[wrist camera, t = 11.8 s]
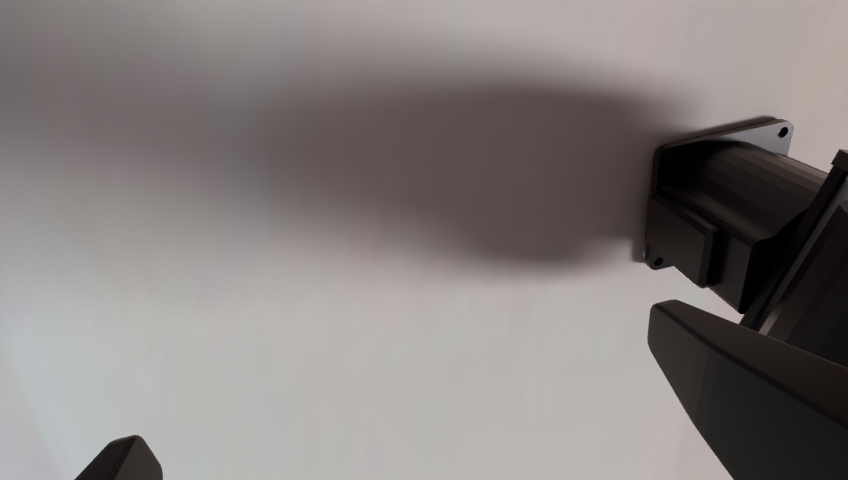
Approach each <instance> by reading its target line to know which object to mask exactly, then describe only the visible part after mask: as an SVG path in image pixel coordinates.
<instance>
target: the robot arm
mask: <svg viewBox="0 0 848 480" xmlns="http://www.w3.org/2000/svg"><path fill="white" fill-rule="evenodd" d="M780 129H781V130H780ZM779 130H780V132H779ZM778 132H779V133H778ZM792 133H793V125H792V123H791V122H789V121H786V120H783V119H777V120H773V121H768V122H764V123H759V124H754V125H750V126H745V127H741V128H736V129H732V130H727V131H723V132H718V133H714V134H709V135H705V136H700V137H696V138H691V139H687V140H682V141H677V142H673V143H668V144H664V145H662V146H660V147H659V148H658V149H657V150H656V152H655V154H654V160H653V171H652V182H651V193H650V196H649V200H648V211H647V223H646V234H645V241H646V250H645V263H646V264H647V265H648V266H649V267H650V268H651V269H653V270H659V269H663V268H667V267H671V266H675V267H676V268H677V269H678V270H679V271H680V272H682V273H683V274H684V275H685V276H686V277H687V278H689V279H690V280H691V281H692V282H693V283H694V284H696V285H697V286H698V287H700V288H706V287H708V288H710V289H711V290H712V291H713V292H714V293H716V294H717V295H718V296H719V297H720V298H722V299H723V300H724V301H725V302H726V303H728V304H729V305H730V306H731V307H732V308H734V309H735V310H736V311H737V312H738V313H740V314H744V316H743V317H742V319H741V321H740V322H739V324H736V323H734V322H731V321H729V320H726V319H724V318H721V317H719V316H716V315H714V314H711V313H709V312H706V311H704V310H701V309H699V308H696V307H694V306H691V305H689V304H686V303H684V302H681V301H678V300H668V301H664V302H660V303H656V304H654V305H653V306H652V307H651V310H650V318H649V327H648V345H649V348H650V351H651V352H652V354H653V356H654V358H655V359H656V361H657V363H658V365H659V366H660V368H661V370H662V371H663V373H664V375H665V377H666V378H667V380H668V382H669V383H670V385H671V387H672V389H673V390H674V392H675V394H676V395H677V397H678V399H679V401H680V402H681V404H682V406H683V407H684V409H685V411H686V413H687V414H688V416H689V417H690V419H691V421H692V422H693V424H694V425H695V427H696V428H697V430H698V431H699V433H700V434H701V435H702V437H703V438H704V440H705V441H706V442H707V444H708V445H709V447H710V448H711V449H712V451H713V452H714V453H715V455H716V456H717V458H718V459H719V460H720V462H721V463H722V464H723V466H724V467H725V468H726V470H727V471H728V473H729V474H730V475H731V477H732V478H733V479H734V480H848V150H842V149H839V151H838V153H837V154H836V156H835V158H834V159H833V161H832V163H831V164H832V165H833V167H832V169H831V170H830V172H829V173H826V172H824V171H821V170H819V169H817V168H814V167H812V166H810V165H807V164H805V163H802V162H800V161H798V160H795V159H793V158H790V157H788V156H787V155H788V150H789V146H790V142H791V137H792ZM668 153H670V154H669V157H668V158H667V159H665V160H664V158H665V156H666V155H667V154H668ZM656 258H658V259H657V260H656V261H654V260H655V259H656ZM75 480H163V473H162V468H161V465H160V463H159V462H158V460H157V459H156V457H155V456H154V454H153V453H152V451H151V450H150V448H149V447H148V445H147V444H146V442H145V441H144V439H143V438H142V437H140V436H138V435H132V436H128V437H124V438H120V439H117V440H114V441H112V442H110V443H109V444H108V445H107V446H106V447H105V448H104V449H103V450H102V451H101V452H100V453H99V454H98V455H97V456H96V457H95V458H94V459H93V461H92V462H91V463H90V464H89V465H88V466H87V467H86V468H85V469H84V470H83V471H82V472H81V473H80V474H79V475H78V476H77V478H76V479H75Z"/></svg>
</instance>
